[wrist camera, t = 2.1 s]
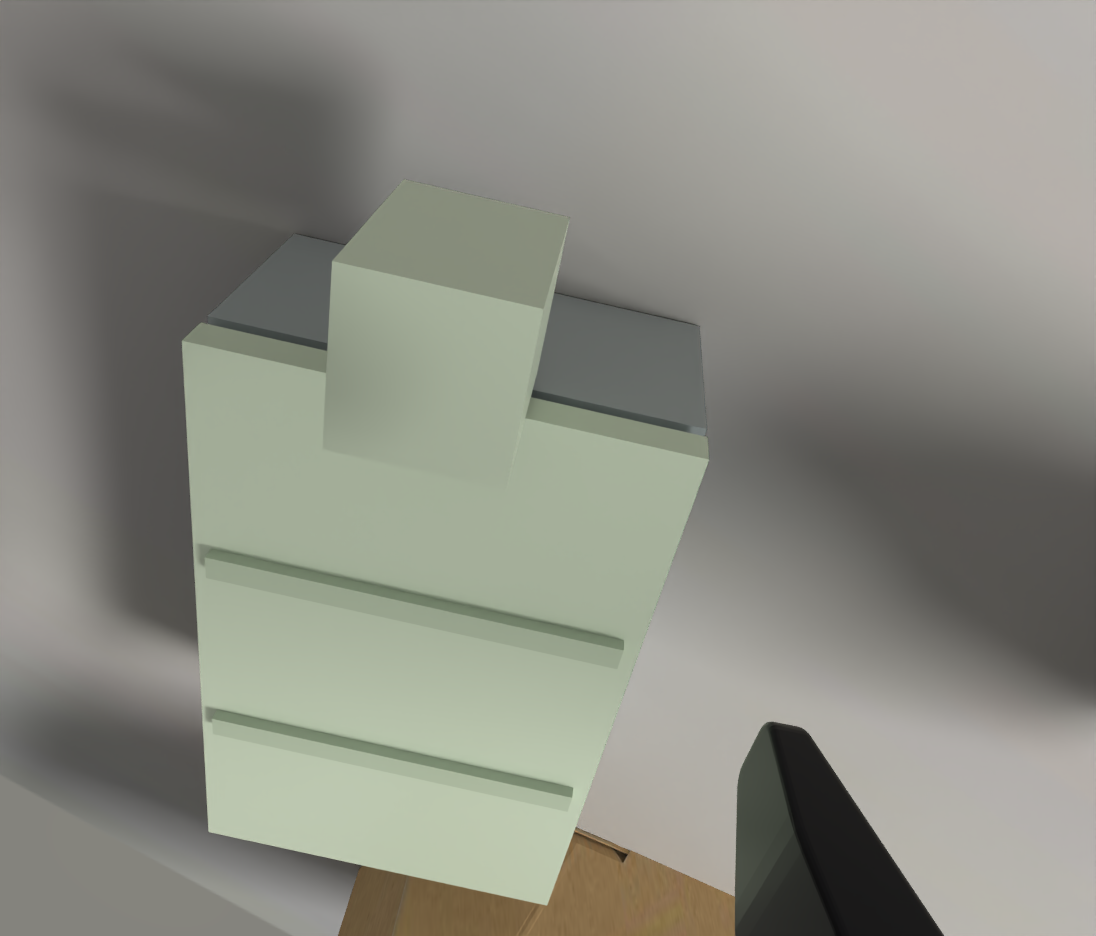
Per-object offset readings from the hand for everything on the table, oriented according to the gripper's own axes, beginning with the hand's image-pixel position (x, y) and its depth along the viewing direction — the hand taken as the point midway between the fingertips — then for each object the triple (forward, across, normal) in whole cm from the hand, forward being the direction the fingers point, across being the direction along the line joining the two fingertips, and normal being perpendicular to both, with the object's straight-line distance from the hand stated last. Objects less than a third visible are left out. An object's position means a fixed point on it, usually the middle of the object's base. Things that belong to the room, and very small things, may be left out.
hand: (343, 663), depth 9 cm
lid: (+9, 0, +8) cm, 12 cm away
